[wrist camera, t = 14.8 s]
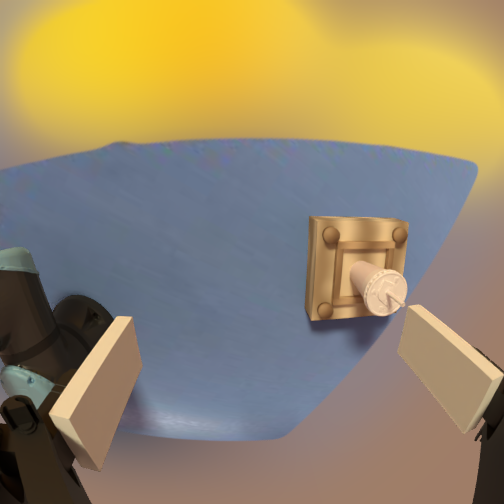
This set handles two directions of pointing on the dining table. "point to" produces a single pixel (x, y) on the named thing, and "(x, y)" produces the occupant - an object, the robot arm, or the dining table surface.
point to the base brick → (348, 261)
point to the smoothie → (379, 287)
